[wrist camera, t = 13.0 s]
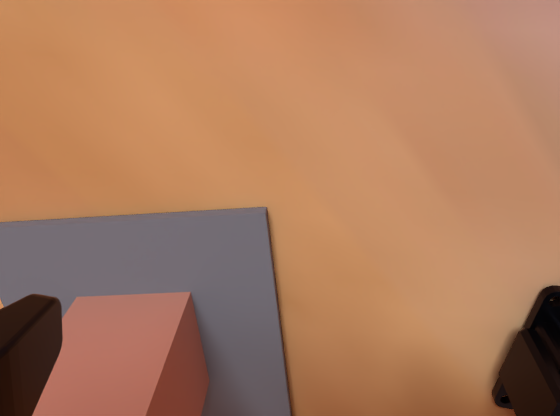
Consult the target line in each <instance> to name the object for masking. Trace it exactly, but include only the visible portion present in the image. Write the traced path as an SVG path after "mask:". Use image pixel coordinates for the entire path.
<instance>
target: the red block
mask: <svg viewBox="0 0 560 416" xmlns="http://www.w3.org/2000/svg"><path fill="white" fill-rule="evenodd" d="M62 333H63V341H62V347H61V350H60V354H59V356H58V358H57V361H56V363H55V365H54V367H53V370H52V372H51V374H50V376H49V379H48V381H47V383H46V385H45V388H44V390H43V392H42V395H41V397H40V399H39V401H38V404H37V406H36V408H35V410H34V413H33V415H32V416H201V413H202V409H203V405H204V401H205V397H206V393H207V389H208V385H209V381H210V380H209V376H208V371H207V366H206V362H205V357H204V352H203V347H202V343H201V338H200V333H199V329H198V324H197V319H196V315H195V310H194V305H193V301H192V296H191V292H176V293H153V294H131V295H109V296H86V297H76V299H75V300H74V302H73V303H72V305H71V306H70V308H69V309H68V311H67V312H66V313H65V315H64V316H63V318H62Z"/></svg>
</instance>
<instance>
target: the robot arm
mask: <svg viewBox="0 0 560 416" xmlns="http://www.w3.org/2000/svg"><path fill="white" fill-rule="evenodd" d="M553 297H558V298H557V299H555V300H553V301H550V300H551V298H553ZM62 341H63V333H62V306H61V302H60V300H59V299H58V298H56V297H52V296H47V295H41V294H30V295H28V296H26V297H24V298H22V299H20V300H18V301H16V302H14V303H12V304H10V305H8V306H6V307H4V308H2V309H0V416H32V415H33V413H34V410H35V408H36V406H37V404H38V401H39V399H40V397H41V395H42V392H43V390H44V388H45V385H46V383H47V381H48V379H49V376H50V374H51V372H52V370H53V367H54V365H55V363H56V361H57V358H58V356H59V354H60V350H61V347H62ZM499 376H500V377H499V379H498V381H497V383H496V385H495V387H494V389H493V391H492V395H493V398H494V401H495V403H496V404H497V405H498V406H500V407H503V408H509V409H514V412H515V414H516V416H560V286H549V287H546V288H545V289H543V290H542V291H541V293H540V294H539V297H538V299H537V301H536V303H535V305H534V307H533V309H532V311H531V313H530V315H529V317H528V319H527V321H526V323H525V325H524V327H523V329H522V330H521V331H519V333H518V335H517V337H516V339H515V341H514V343H513V345H512V347H511V349H510V351H509V353H508V355H507V357H506V359H505V361H504V364H503V366H502V368H501V370H500V372H499ZM505 395H507V396H505ZM502 396H505V397H502Z"/></svg>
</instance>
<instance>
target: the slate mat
mask: <svg viewBox="0 0 560 416" xmlns="http://www.w3.org/2000/svg"><path fill="white" fill-rule="evenodd" d="M176 292H191V296H192V301H193V305H194V310H195V315H196V319H197V324H198V329H199V333H200V338H201V343H202V347H203V352H204V357H205V362H206V366H207V371H208V376H209V380H210V381H209V385H208V389H207V393H206V397H205V401H204V405H203V409H202V413H201V416H292V413H291V405H290V396H289V388H288V380H287V372H286V363H285V355H284V347H283V339H282V330H281V322H280V314H279V305H278V297H277V289H276V281H275V272H274V264H273V256H272V248H271V239H270V231H269V223H268V215H267V207H258V208H240V209H223V210H206V211H189V212H171V213H154V214H137V215H120V216H103V217H85V218H68V219H51V220H34V221H17V222H0V299H1V301H2V304H3V306H4V307H6V306H8V305H10V304H12V303H14V302H16V301H18V300H20V299H22V298H24V297H26V296H28V295H30V294H41V295H47V296H52V297H56V298H58V299H59V300H60V302H61V306H62V318H63V316H64V315H65V313H66V312H67V311H68V309H69V308H70V306H71V305H72V303H73V302H74V300H75V299H76V297H86V296H109V295H131V294H153V293H176Z"/></svg>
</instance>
